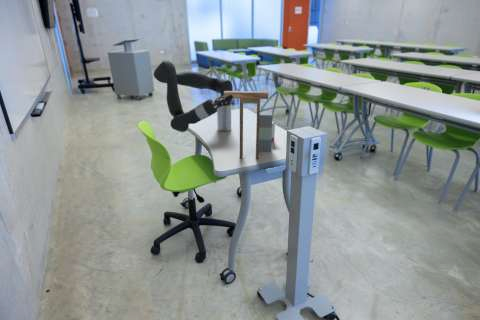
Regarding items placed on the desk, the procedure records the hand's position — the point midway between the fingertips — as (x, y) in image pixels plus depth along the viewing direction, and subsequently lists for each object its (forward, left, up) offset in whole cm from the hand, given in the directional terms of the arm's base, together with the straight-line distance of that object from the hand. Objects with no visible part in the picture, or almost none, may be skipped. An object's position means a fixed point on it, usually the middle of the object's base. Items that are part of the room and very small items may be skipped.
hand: (233, 94), depth 154 cm
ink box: (-25, +18, -34) cm, 46 cm away
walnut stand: (0, +8, -34) cm, 35 cm away
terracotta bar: (0, +6, -2) cm, 7 cm away
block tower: (-11, +16, -34) cm, 39 cm away
